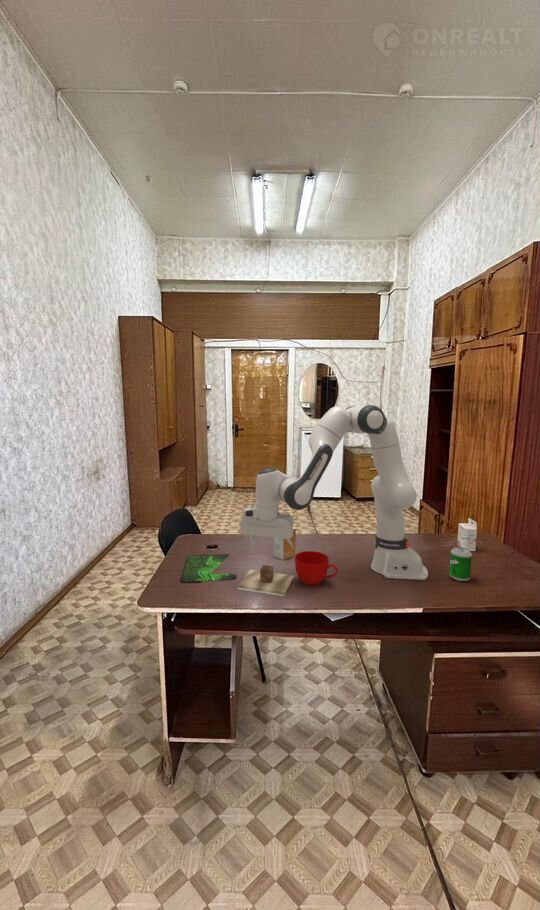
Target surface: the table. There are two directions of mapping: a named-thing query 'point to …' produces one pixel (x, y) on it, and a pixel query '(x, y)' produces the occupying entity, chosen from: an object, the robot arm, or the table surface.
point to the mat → (261, 591)
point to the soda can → (460, 564)
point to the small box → (285, 547)
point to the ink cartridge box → (467, 535)
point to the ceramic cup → (312, 567)
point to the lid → (266, 581)
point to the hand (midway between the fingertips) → (266, 547)
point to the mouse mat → (204, 569)
